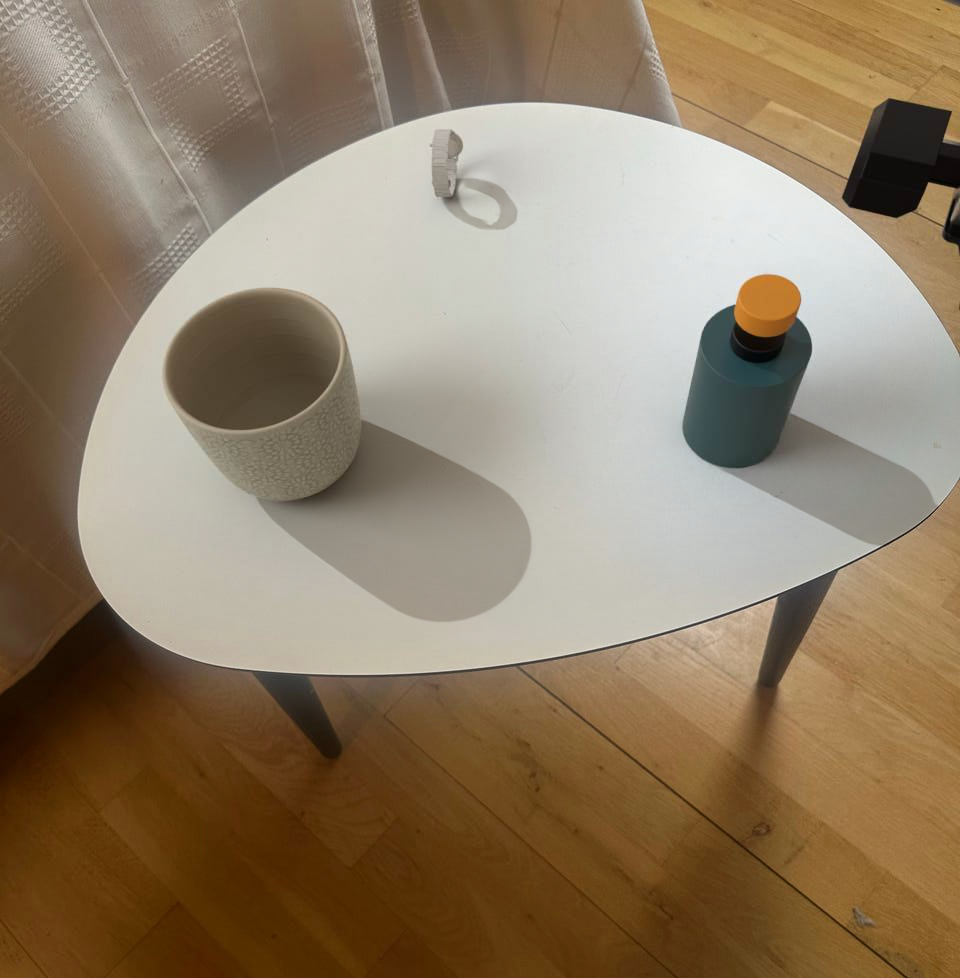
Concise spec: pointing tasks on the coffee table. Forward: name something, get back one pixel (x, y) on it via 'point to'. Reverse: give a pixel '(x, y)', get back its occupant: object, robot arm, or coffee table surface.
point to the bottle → (742, 390)
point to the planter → (267, 391)
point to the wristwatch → (445, 161)
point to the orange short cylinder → (767, 305)
